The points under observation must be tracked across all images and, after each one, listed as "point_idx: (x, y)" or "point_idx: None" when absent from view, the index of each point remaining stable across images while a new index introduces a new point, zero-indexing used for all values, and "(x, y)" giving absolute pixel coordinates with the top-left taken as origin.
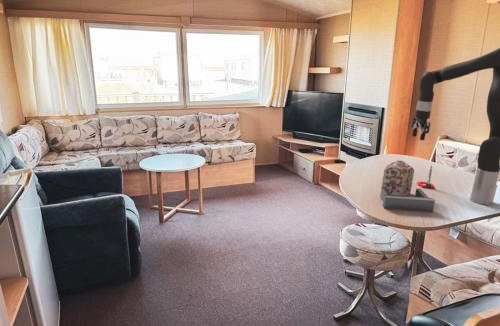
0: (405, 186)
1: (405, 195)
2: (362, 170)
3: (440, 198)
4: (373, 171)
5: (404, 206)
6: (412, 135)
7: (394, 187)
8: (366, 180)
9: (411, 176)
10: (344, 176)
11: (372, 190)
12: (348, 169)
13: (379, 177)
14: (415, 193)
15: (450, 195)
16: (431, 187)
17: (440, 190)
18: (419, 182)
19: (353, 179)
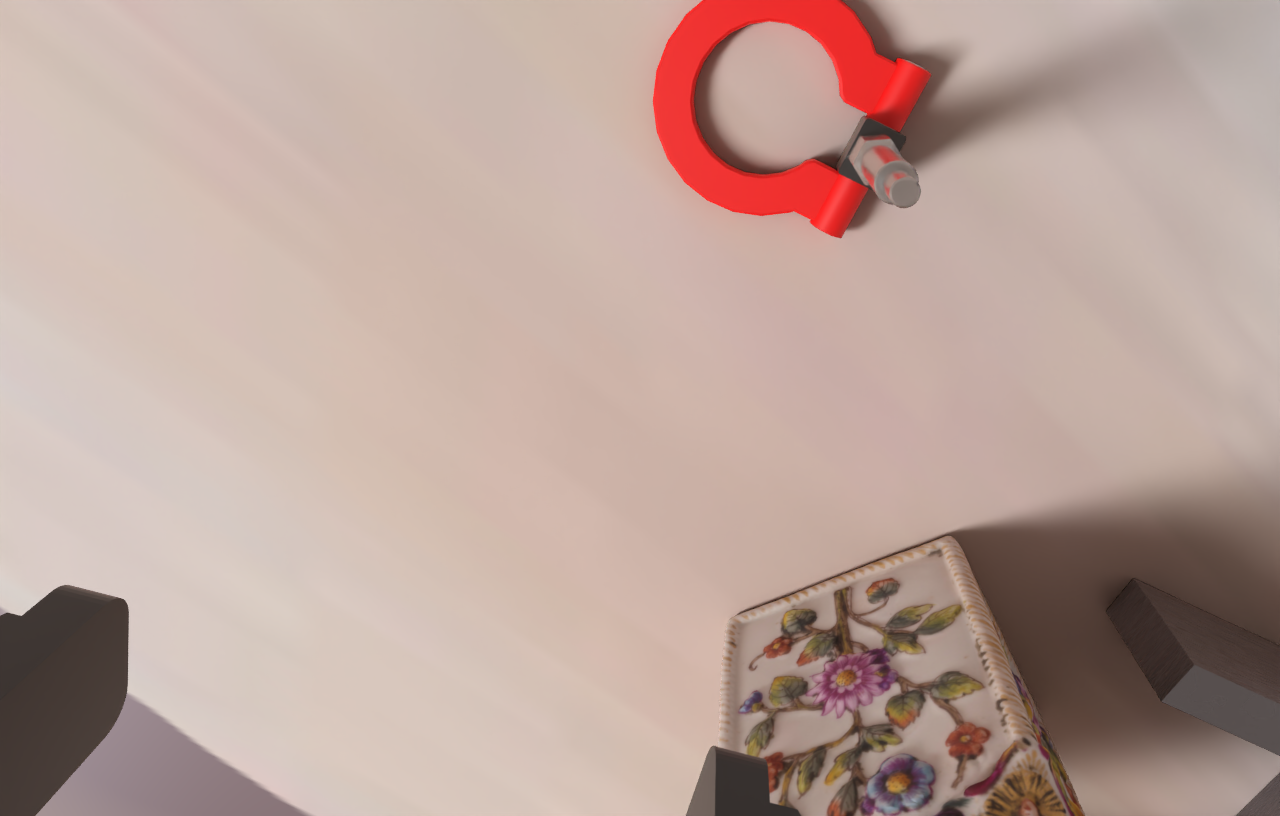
0: (1060, 778)
1: (1011, 657)
2: (103, 520)
3: (1235, 295)
4: (140, 415)
5: None
6: (88, 732)
7: None
8: (455, 691)
9: (1037, 740)
10: (308, 808)
11: None
12: None
13: (374, 495)
14: (1137, 659)
15: (1231, 51)
16: (906, 115)
17: (1020, 35)
18: (689, 143)
19: (407, 785)
